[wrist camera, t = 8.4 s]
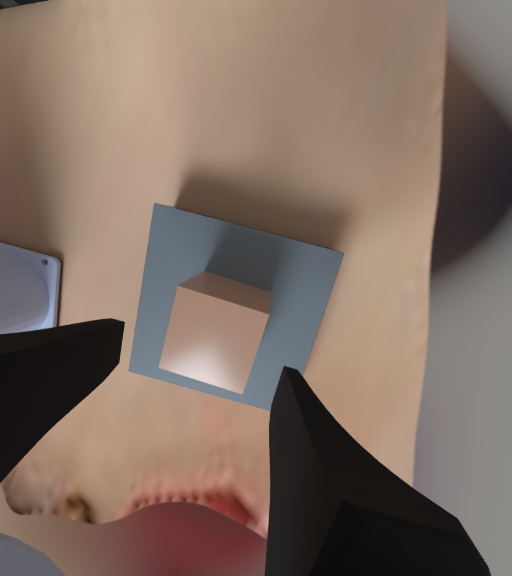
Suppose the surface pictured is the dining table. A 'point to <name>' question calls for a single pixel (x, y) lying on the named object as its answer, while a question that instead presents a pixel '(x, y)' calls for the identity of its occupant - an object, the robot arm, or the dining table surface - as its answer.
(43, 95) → the dining table surface
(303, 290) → the base board
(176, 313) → the pale pink cube
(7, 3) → the smart home device
